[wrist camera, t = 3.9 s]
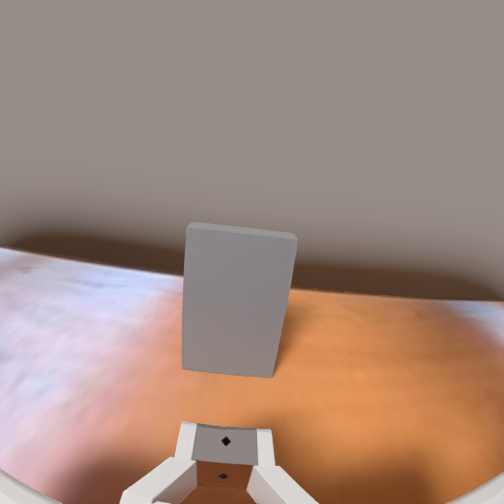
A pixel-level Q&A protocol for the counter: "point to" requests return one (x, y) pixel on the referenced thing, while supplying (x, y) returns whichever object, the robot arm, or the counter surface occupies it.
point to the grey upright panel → (235, 298)
